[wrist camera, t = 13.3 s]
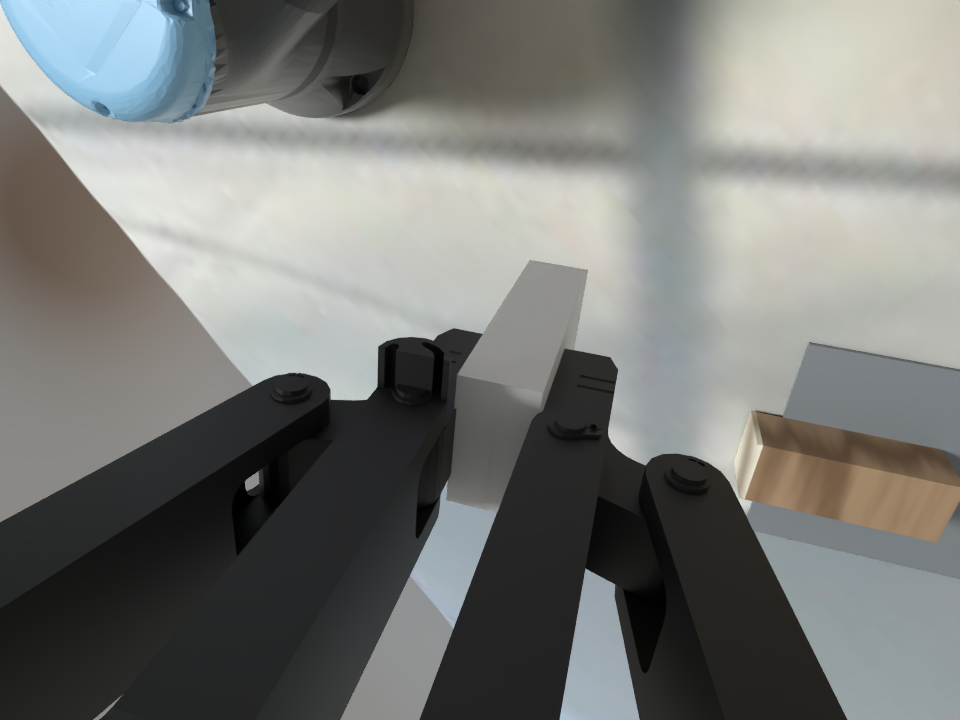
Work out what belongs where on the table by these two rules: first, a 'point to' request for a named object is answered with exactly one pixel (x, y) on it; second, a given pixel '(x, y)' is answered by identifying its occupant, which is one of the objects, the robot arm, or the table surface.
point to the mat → (883, 413)
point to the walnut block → (847, 476)
